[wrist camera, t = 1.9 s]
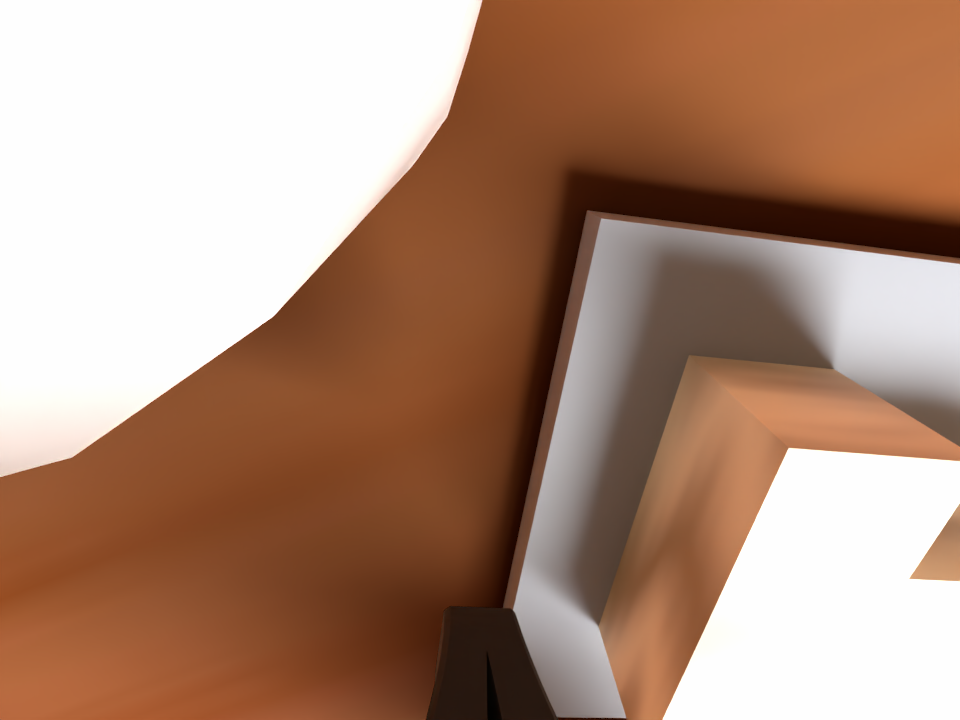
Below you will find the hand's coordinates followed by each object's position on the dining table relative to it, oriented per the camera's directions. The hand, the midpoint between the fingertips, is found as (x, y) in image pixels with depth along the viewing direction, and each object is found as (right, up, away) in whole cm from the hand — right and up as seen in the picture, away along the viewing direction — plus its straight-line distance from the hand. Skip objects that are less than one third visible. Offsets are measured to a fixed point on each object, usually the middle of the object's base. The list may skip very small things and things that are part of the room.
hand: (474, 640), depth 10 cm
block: (+10, +1, +5) cm, 11 cm away
